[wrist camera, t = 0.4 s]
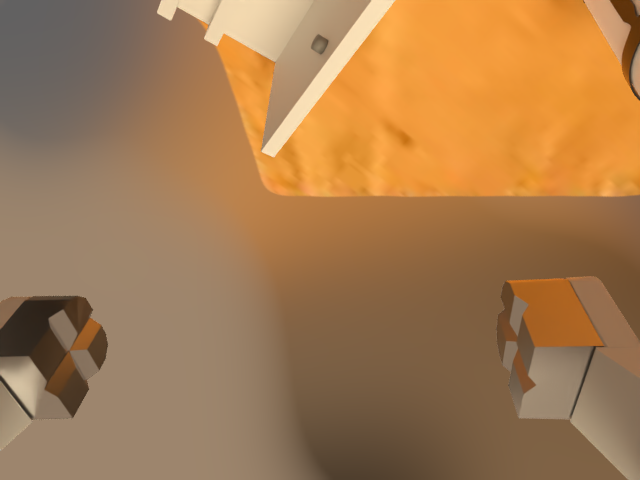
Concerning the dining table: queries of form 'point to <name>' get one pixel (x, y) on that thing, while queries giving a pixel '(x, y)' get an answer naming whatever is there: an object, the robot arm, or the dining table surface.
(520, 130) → the dining table surface
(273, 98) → the picture ledge
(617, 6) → the coffee press
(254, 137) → the dining table surface
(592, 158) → the dining table surface
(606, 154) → the dining table surface
